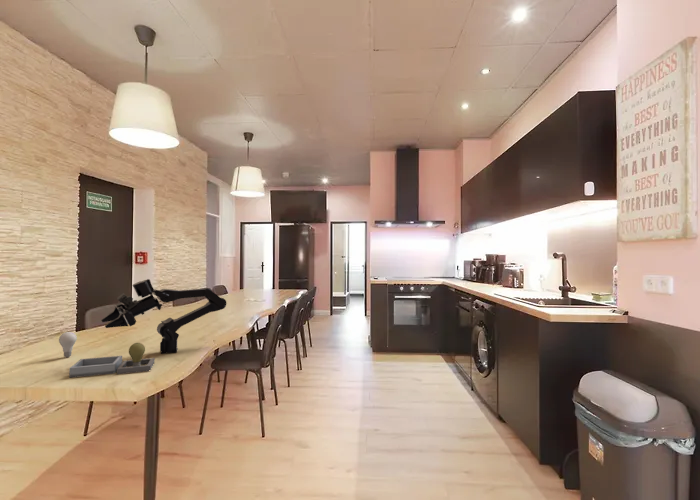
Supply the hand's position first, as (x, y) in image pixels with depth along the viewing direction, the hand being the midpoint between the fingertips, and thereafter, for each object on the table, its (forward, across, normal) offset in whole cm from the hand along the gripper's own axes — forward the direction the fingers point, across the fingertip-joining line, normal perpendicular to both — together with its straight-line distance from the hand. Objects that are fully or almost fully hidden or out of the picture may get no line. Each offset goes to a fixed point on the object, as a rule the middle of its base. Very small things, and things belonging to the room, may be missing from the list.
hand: (103, 323), depth 146 cm
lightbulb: (+17, -16, +12) cm, 26 cm away
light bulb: (-2, +20, +16) cm, 26 cm away
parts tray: (+9, +13, +12) cm, 20 cm away
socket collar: (-2, +20, +16) cm, 26 cm away
